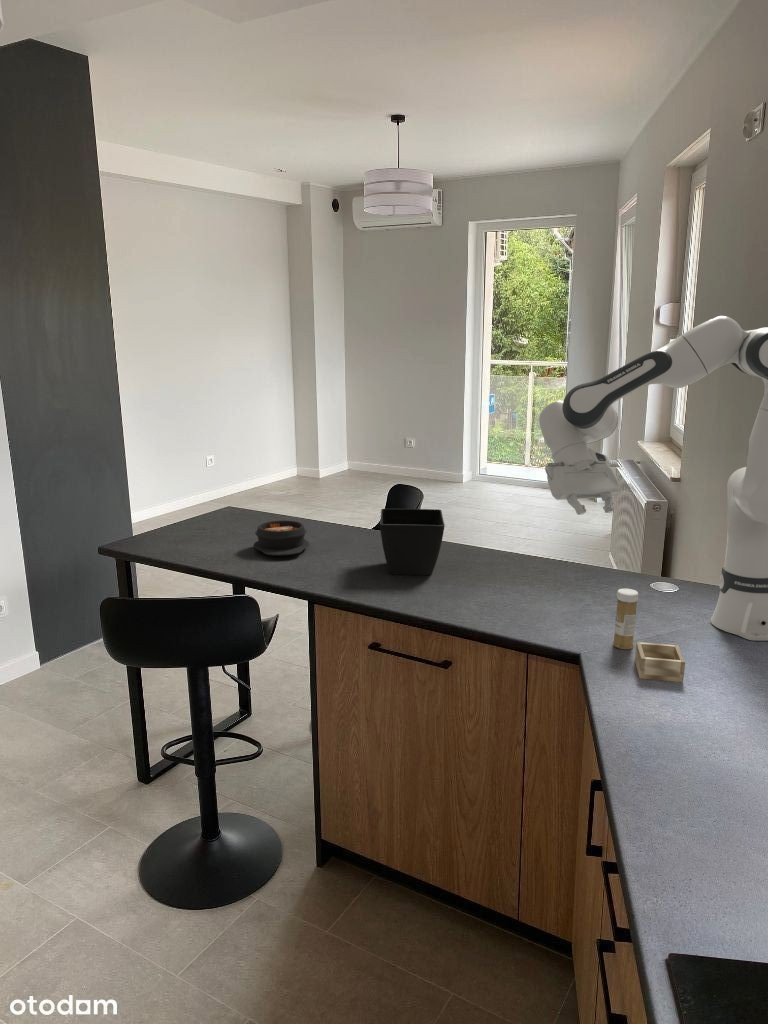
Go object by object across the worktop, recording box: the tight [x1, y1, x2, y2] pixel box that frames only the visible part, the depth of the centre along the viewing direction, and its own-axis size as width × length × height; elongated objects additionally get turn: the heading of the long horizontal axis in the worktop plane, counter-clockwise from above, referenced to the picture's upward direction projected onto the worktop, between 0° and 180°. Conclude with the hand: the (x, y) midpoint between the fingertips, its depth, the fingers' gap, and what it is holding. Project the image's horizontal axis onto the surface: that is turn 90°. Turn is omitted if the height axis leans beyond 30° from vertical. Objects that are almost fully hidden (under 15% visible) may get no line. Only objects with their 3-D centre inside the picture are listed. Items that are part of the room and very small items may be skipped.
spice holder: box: [634, 641, 686, 683], centre depth 155 cm, size 9×9×4 cm
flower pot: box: [379, 508, 446, 576], centre depth 222 cm, size 19×19×17 cm
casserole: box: [252, 520, 310, 557], centre depth 243 cm, size 25×19×8 cm
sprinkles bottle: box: [612, 588, 639, 650], centre depth 167 cm, size 5×5×13 cm
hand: (596, 512), depth 172 cm, fingers open, 8 cm apart
